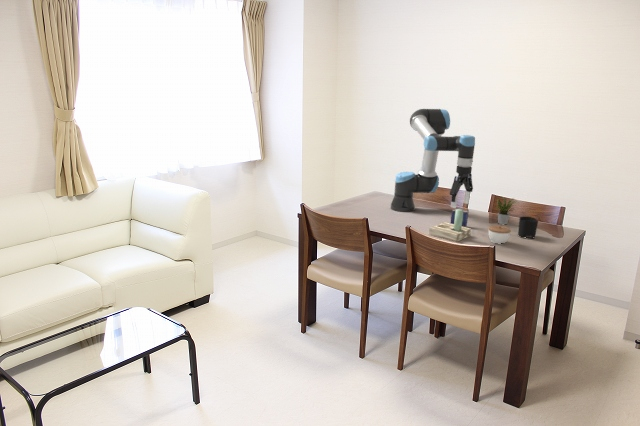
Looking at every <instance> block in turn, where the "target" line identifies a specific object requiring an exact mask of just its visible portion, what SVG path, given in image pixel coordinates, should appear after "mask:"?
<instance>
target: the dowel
mask: <svg viewBox="0 0 640 426" xmlns="http://www.w3.org/2000/svg"><path fill="white" fill-rule="evenodd" d="M455 209H456V212H455V221H454V230H453V231H457V232H461V228H462V220H463V211H465V210H464V209H459V208H455Z"/></svg>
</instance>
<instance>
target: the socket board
mask: <svg viewBox="0 0 640 426" xmlns="http://www.w3.org/2000/svg"><path fill="white" fill-rule="evenodd" d="M450 223H451V222H450ZM450 223H449V222H446V221H444V222H442V223H438V224H437V225H434V226H431V227H429V234H428V235H429V236H431V237H432V236H433V237H437V238H439V239H442V238H443V240H447V241H449V242H454V243H457V242H460V241H461V240H464V239H467V238H469V237H471V236H472V235H471V234H472V228H469V227H462V228H461V232H457V231H453V230H454V224H450Z"/></svg>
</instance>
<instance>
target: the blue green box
mask: <svg viewBox="0 0 640 426" xmlns="http://www.w3.org/2000/svg"><path fill="white" fill-rule="evenodd" d="M456 209H457V208H454V209H452V210H451V214H450V224H454V221H455V212H456ZM458 209H461V210H463V209H462V207H459V208H458ZM468 217H469V211H468V210H464V211H463V220H462V227H466V228H468Z"/></svg>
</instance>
